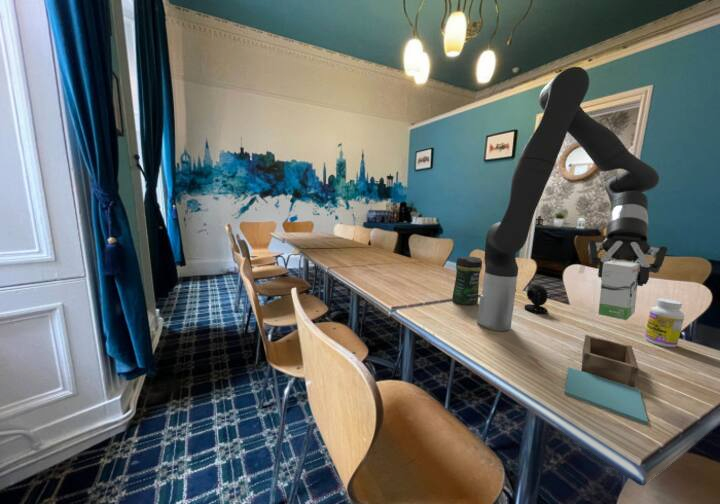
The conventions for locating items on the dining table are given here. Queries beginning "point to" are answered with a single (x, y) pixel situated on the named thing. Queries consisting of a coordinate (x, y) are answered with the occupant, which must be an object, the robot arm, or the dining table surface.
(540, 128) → the robot arm
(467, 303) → the coffee jar
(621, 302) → the ink box
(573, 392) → the teal mat
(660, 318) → the supplement bottle
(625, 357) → the walnut case
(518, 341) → the dining table surface
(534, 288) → the webcam
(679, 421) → the dining table surface
